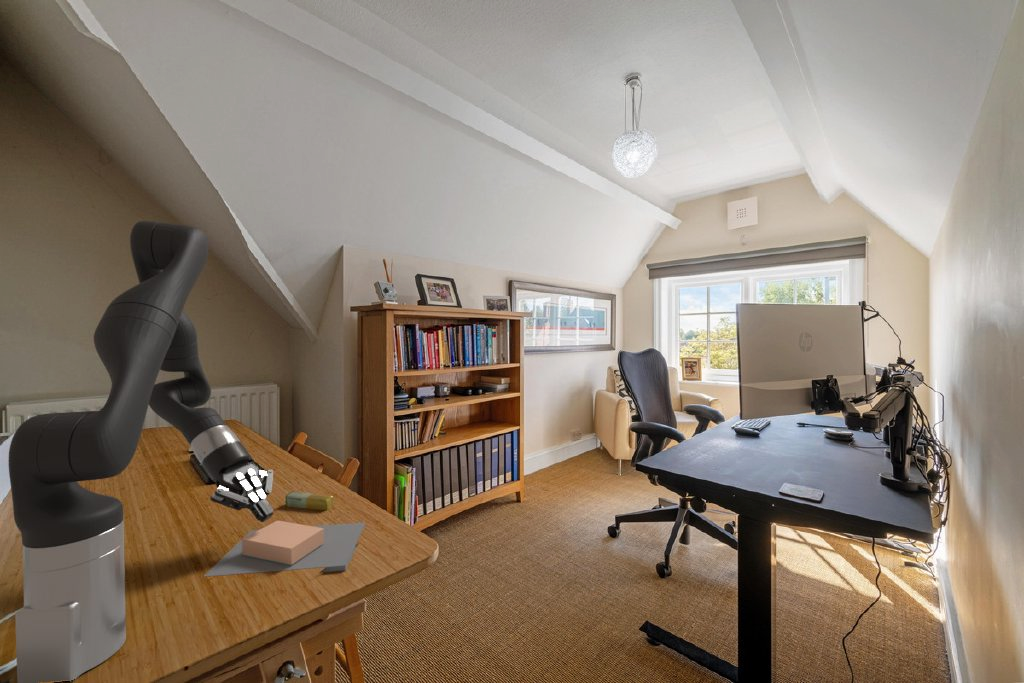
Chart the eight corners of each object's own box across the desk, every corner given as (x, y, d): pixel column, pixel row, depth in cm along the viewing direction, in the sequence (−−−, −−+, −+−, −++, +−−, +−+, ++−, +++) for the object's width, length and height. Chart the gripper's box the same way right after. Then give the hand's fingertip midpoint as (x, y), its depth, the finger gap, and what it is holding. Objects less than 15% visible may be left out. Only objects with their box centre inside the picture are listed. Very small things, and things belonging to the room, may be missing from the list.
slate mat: (345, 570, 74) (345, 565, 74) (203, 582, 71) (202, 576, 71) (366, 526, 91) (366, 522, 91) (251, 534, 88) (251, 529, 87)
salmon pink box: (241, 539, 77) (291, 548, 74) (277, 520, 85) (323, 528, 81) (242, 556, 77) (291, 566, 74) (277, 535, 85) (324, 544, 81)
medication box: (284, 511, 100) (284, 495, 99) (293, 506, 102) (292, 490, 102) (327, 515, 97) (326, 499, 97) (334, 510, 100) (334, 495, 99)
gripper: (197, 449, 76) (247, 521, 73) (259, 433, 89) (304, 494, 86) (178, 474, 78) (226, 546, 75) (241, 455, 91) (285, 515, 87)
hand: (268, 518), depth 80 cm, fingers closed
